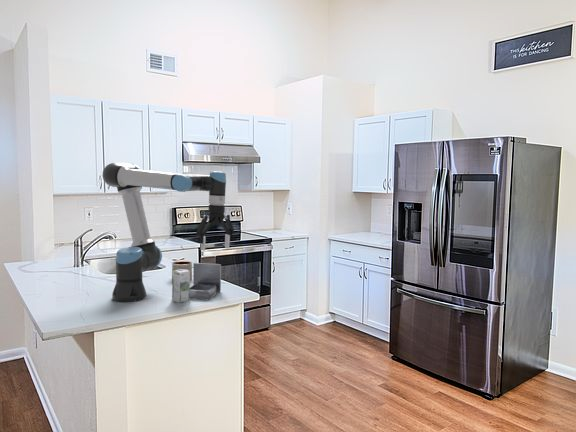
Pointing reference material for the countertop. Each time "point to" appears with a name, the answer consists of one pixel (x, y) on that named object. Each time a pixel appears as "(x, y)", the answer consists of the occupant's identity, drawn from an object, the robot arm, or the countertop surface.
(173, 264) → the planter
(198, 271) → the bracket
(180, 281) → the syrup box
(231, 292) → the countertop surface
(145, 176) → the robot arm
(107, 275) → the countertop surface
